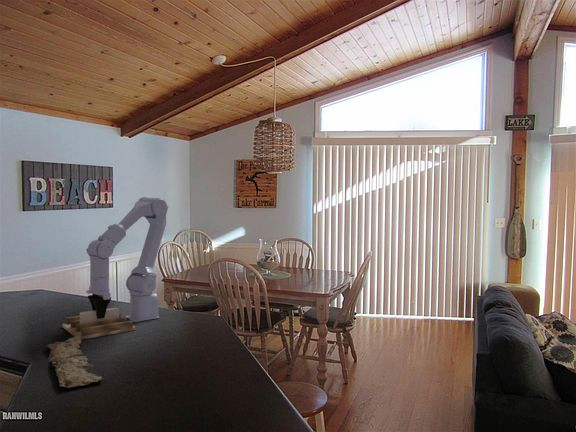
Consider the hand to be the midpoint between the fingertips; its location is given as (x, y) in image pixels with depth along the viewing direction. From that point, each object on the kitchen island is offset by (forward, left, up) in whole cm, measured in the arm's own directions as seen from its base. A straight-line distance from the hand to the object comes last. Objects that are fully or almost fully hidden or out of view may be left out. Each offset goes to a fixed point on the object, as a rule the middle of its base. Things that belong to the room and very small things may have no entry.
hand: (99, 317), depth 152 cm
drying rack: (0, 0, -4) cm, 4 cm away
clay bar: (0, 0, -3) cm, 3 cm away
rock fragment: (+17, +28, -4) cm, 33 cm away
